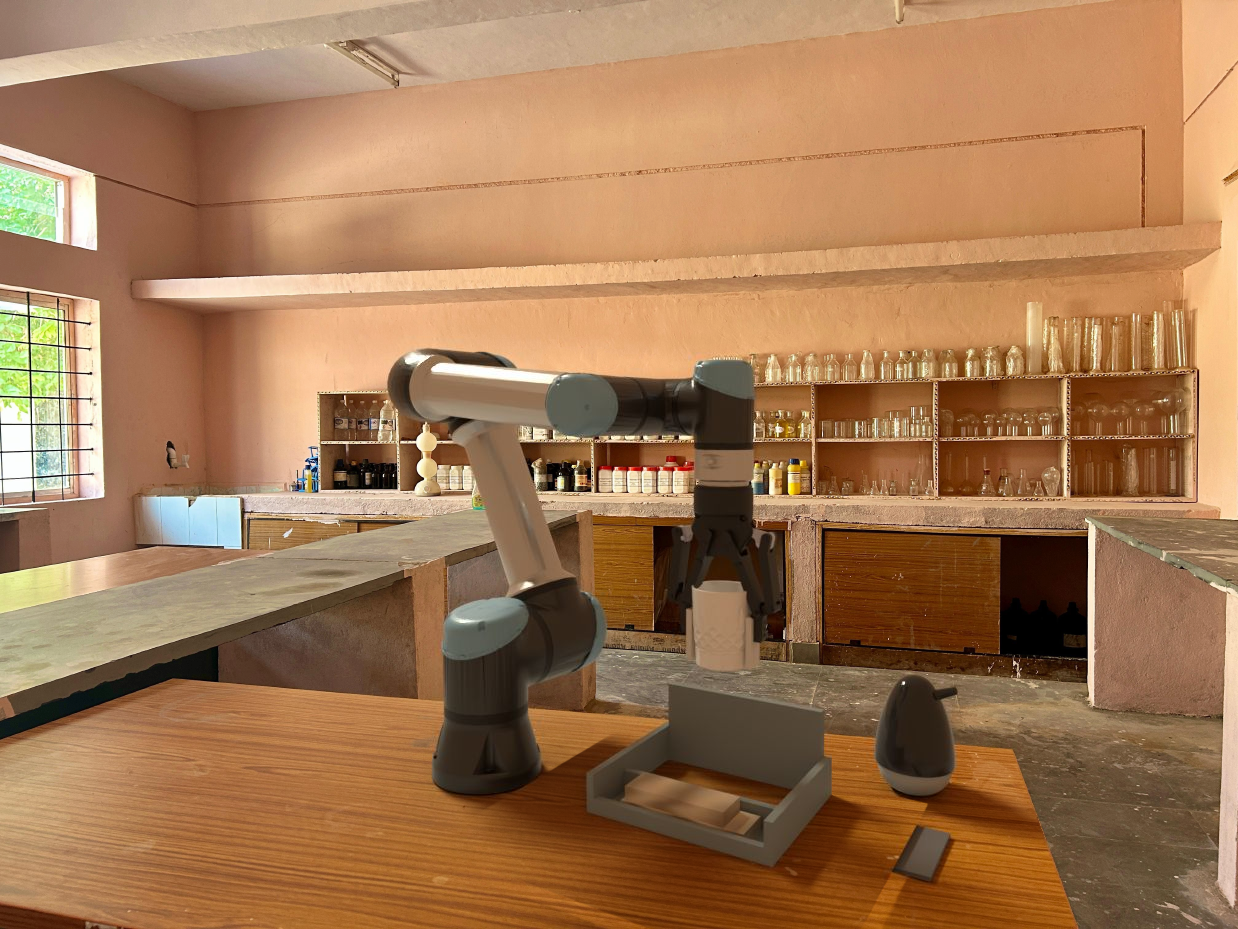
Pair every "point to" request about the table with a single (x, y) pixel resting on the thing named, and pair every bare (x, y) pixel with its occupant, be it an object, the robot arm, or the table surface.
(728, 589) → the white cup
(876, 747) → the pump dispenser
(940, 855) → the mat
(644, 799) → the upper offcut
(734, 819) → the block
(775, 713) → the rack
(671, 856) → the table surface
